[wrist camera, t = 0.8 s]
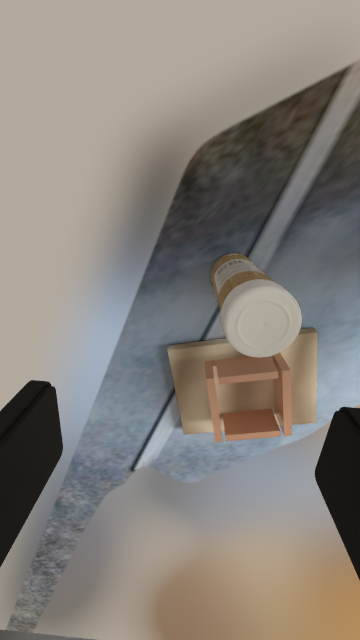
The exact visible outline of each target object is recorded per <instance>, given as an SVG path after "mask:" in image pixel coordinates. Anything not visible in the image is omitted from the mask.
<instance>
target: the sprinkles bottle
mask: <svg viewBox="0 0 360 640" xmlns="http://www.w3.org/2000/svg"><path fill="white" fill-rule="evenodd" d="M210 278H211V283H212V285H213V287H214V293H215V297H216V300H217V302H218V305H219V308H220V311H221V316H220V317H221V324H222V328H223V331H224V334H225V336H226V339H227V340H228V342H229V343H230V345H231V346H232V347H233V348H234V349H236V350H237V351H238V352H240V353H242V354H244V355H247V356H250V357H258V358H261V357H269V356H273V355H275V354H278V353H280V352H282V351H283V350H285V349H286V348H287V347H289V346H290V345H291V344H292V343H293V341H294V340H295V339H296V337H297V335H298V333H299V331H300V328H301V323H302V314H301V309H300V307H299V304H298V302H297V301H296V300H295V298H294V297H293V296H292V295H291V294H290V293H289V292H288V291H287V290H286V289H285V288H283V287H282V286H281V285H279V284H278V283H275V282H273V281H272V280H271V279H270V278H269V277H268V276H267V275H266V274H265V273H264V272H262V271H261V270H260V269H259V268H258V267H257V266H256V265H254V264H253V263H252V262H251V261H250V259H248V258H247V257H246V256H244V255H242V254H237V253H232V254H227V255H225V256H222V257H221V258H220V259H218V260H217V261H216V262H215V264H214V266H213V267H212V271H211V275H210Z"/></svg>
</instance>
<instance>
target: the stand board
mask: <svg viewBox="0 0 360 640" xmlns="http://www.w3.org/2000/svg"><path fill="white" fill-rule="evenodd" d="M317 349H318V332H317V331H316V330H315V329H314V328H306V329H300V331H299V333H298V335H297V337H296V339H295V340H294V341H293V343H292V344H291V345H290V346H289V347H287V348H286V349H285V350H283V351H282V352H280V353H281V355H282V356H283V358H284V360H285V361H286V363H287V365H288V366H289V368H290V370H291V418H292V425H296V424H307V423H316V393H317ZM167 351H168V356H169V361H170V366H171V371H172V376H173V381H174V387H175V392H176V397H177V402H178V407H179V412H180V417H181V422H182V427H183V432H184V434H195V433H206V432H214V430H213V423H212V416H211V409H210V402H209V396H208V389H207V382H206V371H205V361H211V360H212V365H213V372H214V379H215V387H216V394H217V402H218V409H219V417H220V425H221V431H225V429H224V422H223V414H222V413H232V412H242V411H253V410H263V409H272V411H273V414H274V416H275V419H276V421H277V424H278V426H280V424H279V422H278V419H277V417H276V414H275V397H274V379H266V380H257V381H248V382H238V383H229V384H219V381H218V374H217V367H216V360H220V359H229V358H237V357H246V356H247V355H244V354H242V353H240V352H238V351H237V350H236V349H234V348H233V347H232V346H231V345H230V343H229V342H228V340H227V339H226V338H225V339H216V340H208V341H200V342H192V343H184V344H176V345H168V350H167ZM270 357H271V359H272V361H273V356H270Z"/></svg>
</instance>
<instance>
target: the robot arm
mask: <svg viewBox="0 0 360 640" xmlns="http://www.w3.org/2000/svg"><path fill="white" fill-rule="evenodd" d="M62 451H63V443H62V435H61V428H60V419H59V412H58V404H57V396H56V389H55V387H53V386H51V384H50V383H49V382H46V381H34V380H32V381H29V382H28V383H27V384H26V385H25V386H24V387H23V388H22V389H21V390H20V391H19V392H18V393H17V394H16V395H15V396H14V398H13V399H12V400H11V401H10V402H9V403H8V404H7V405H6V406H5V407H4V408H3V409H2V410H1V411H0V567H1V565H2V563H3V561H4V560H5V557H6V556H7V554H8V552H9V550H10V549H11V547H12V545H13V543H14V541H15V539H16V538H17V536H18V534H19V532H20V530H21V529H22V527H23V525H24V523H25V521H26V519H27V518H28V516H29V514H30V512H31V510H32V508H33V507H34V504H35V503H36V501H37V499H38V497H39V496H40V494H41V492H42V490H43V488H44V486H45V485H46V483H47V481H48V479H49V477H50V476H51V474H52V472H53V470H54V468H55V467H56V465H57V463H58V461H59V459H60V457H61V454H62ZM315 478H316V482H317V484H318V486H319V488H320V491H321V493H322V496H323V498H324V500H325V502H326V505H327V507H328V509H329V511H330V514H331V516H332V518H333V520H334V523H335V525H336V527H337V529H338V532H339V534H340V536H341V539H342V541H343V543H344V545H345V548H346V550H347V552H348V555H349V557H350V559H351V561H352V564H353V566H354V568H355V570H356V573H357V575H358V577H359V579H360V408H350V407H342V408H340V410H339V411H336V412H335V413H334V415H333V418H332V421H331V424H330V427H329V430H328V433H327V436H326V439H325V442H324V445H323V448H322V451H321V454H320V457H319V460H318V463H317V466H316V469H315ZM0 640H94V639H84V638H75V637H65V636H56V635H47V634H37V633H28V632H18V631H9V630H0Z"/></svg>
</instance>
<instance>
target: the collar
mask: <svg viewBox="0 0 360 640" xmlns="http://www.w3.org/2000/svg"><path fill="white" fill-rule="evenodd" d="M216 367H217V374H218V381H219V384H229V383H238V382H248V381H257V380H266V379H274V397H275V414H276V417H277V419H278V422H279V424H280V427H281V429H282V432H283V434H284V436H291V435H292V418H291V370H290V368H289V366H288V365H287V363H286V361H285V360H284V358H283V356H282V355H281V353H278V354H275V355H273V361H272V359H271V357H270V356H269V357H261V358H258V357H250V356H246V357H237V358H229V359H220V360H216ZM205 371H206V382H207V389H208V396H209V402H210V409H211V416H212V423H213V430H214V437H215V442H221V441H222V433H221V425H220V417H219V409H218V402H217V394H216V387H215V379H214V372H213V365H212V360H211V361H205ZM222 414H223V422H224V429H225V436H226V441H232V440H244V439H256V438H267V437H279V436H280V429H279V426H278V424H277V421H276V419H275V416H274V414H273V411H272V409H263V410H253V411H242V412H232V413H222Z"/></svg>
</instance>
